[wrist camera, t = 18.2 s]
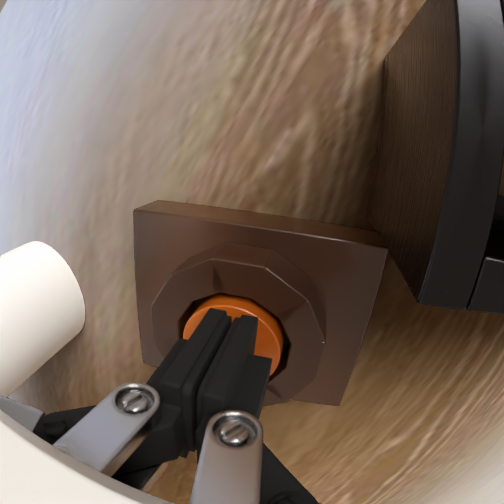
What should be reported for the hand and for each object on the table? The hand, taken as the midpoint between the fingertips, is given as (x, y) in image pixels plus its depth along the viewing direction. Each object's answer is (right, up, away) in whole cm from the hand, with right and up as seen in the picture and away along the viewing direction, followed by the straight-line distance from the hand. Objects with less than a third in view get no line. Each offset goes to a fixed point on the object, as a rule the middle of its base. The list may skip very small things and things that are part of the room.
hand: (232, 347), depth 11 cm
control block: (+1, +1, +4) cm, 4 cm away
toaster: (+12, +7, 0) cm, 14 cm away
